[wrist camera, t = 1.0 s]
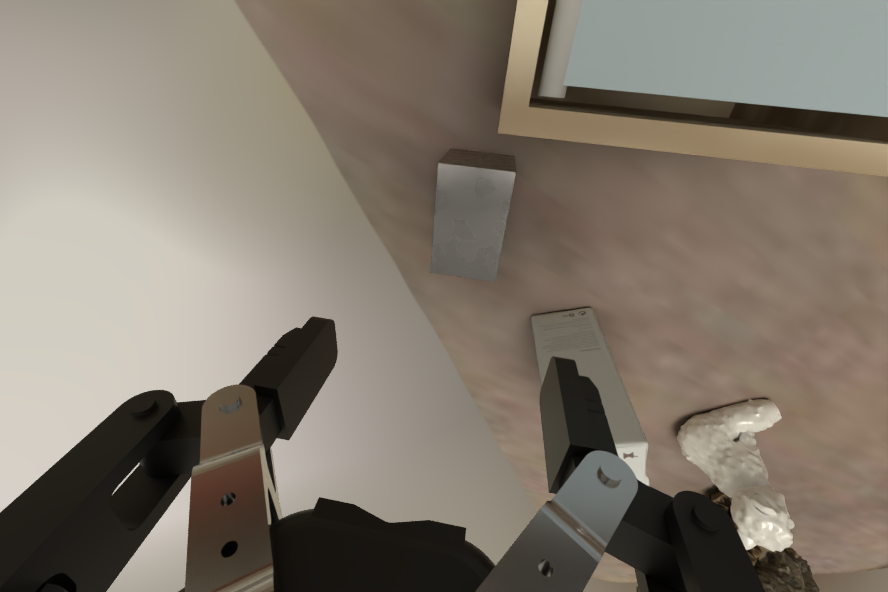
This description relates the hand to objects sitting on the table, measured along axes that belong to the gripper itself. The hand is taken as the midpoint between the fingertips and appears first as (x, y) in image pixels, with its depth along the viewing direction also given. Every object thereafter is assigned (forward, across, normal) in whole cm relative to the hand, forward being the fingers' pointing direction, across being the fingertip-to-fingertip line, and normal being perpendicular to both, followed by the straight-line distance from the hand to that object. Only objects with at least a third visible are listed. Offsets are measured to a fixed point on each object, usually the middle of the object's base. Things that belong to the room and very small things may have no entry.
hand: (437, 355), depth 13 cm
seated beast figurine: (+20, -29, +21) cm, 41 cm away
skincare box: (+20, -11, +13) cm, 26 cm away
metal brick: (+20, 0, 0) cm, 20 cm away
